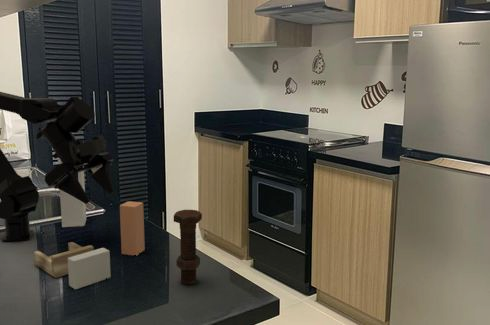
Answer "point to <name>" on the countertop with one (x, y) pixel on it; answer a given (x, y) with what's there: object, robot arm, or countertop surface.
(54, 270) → the cradle
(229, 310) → the countertop surface
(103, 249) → the stop block
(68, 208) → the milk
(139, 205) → the orange rectangular block
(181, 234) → the bolt
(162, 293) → the countertop surface
